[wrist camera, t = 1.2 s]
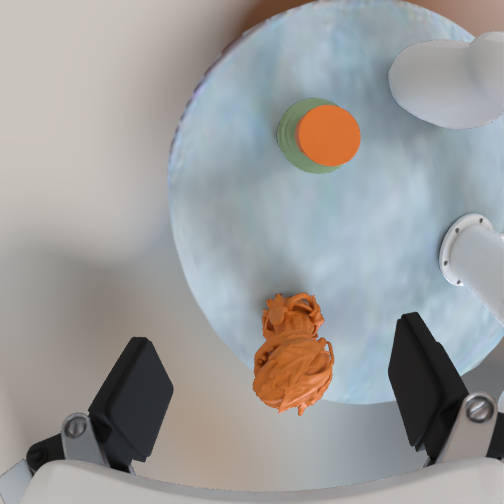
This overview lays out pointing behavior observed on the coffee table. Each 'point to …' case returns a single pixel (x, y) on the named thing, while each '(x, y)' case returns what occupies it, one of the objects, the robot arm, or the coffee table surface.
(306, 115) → the cap
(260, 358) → the orange sculpture
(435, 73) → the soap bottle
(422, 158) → the coffee table surface
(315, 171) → the bottle
